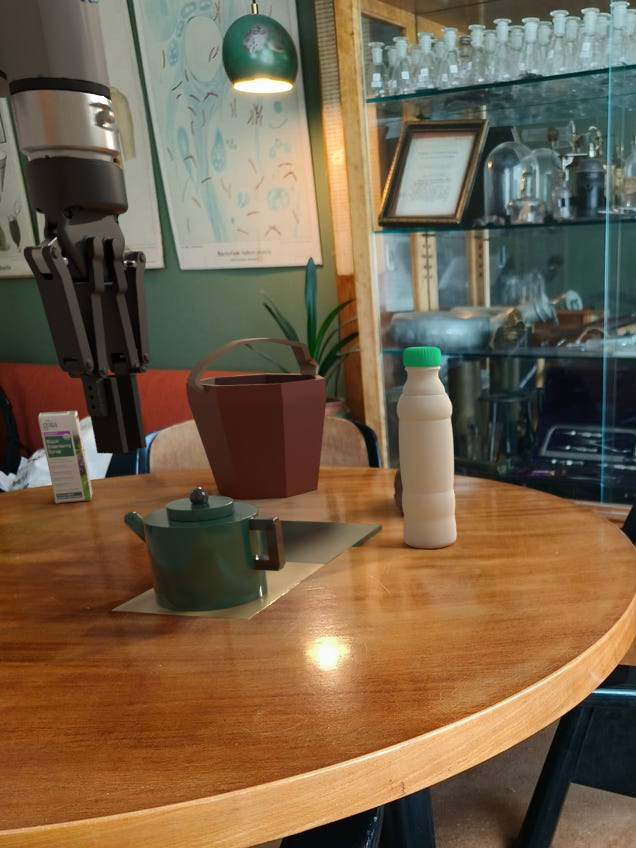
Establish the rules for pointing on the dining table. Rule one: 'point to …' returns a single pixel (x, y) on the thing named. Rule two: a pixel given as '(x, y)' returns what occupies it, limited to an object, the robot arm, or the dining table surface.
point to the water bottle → (426, 452)
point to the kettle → (208, 551)
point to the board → (303, 557)
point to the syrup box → (65, 456)
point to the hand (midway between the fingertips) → (122, 449)
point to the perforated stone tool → (398, 489)
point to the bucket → (260, 425)
